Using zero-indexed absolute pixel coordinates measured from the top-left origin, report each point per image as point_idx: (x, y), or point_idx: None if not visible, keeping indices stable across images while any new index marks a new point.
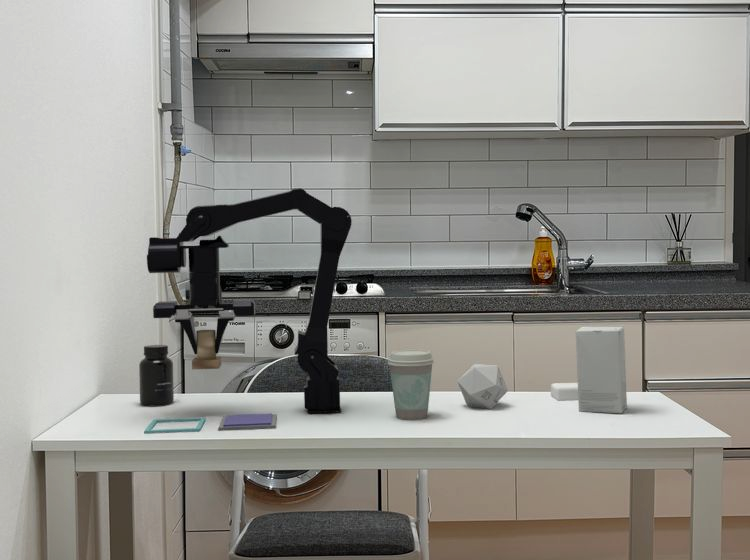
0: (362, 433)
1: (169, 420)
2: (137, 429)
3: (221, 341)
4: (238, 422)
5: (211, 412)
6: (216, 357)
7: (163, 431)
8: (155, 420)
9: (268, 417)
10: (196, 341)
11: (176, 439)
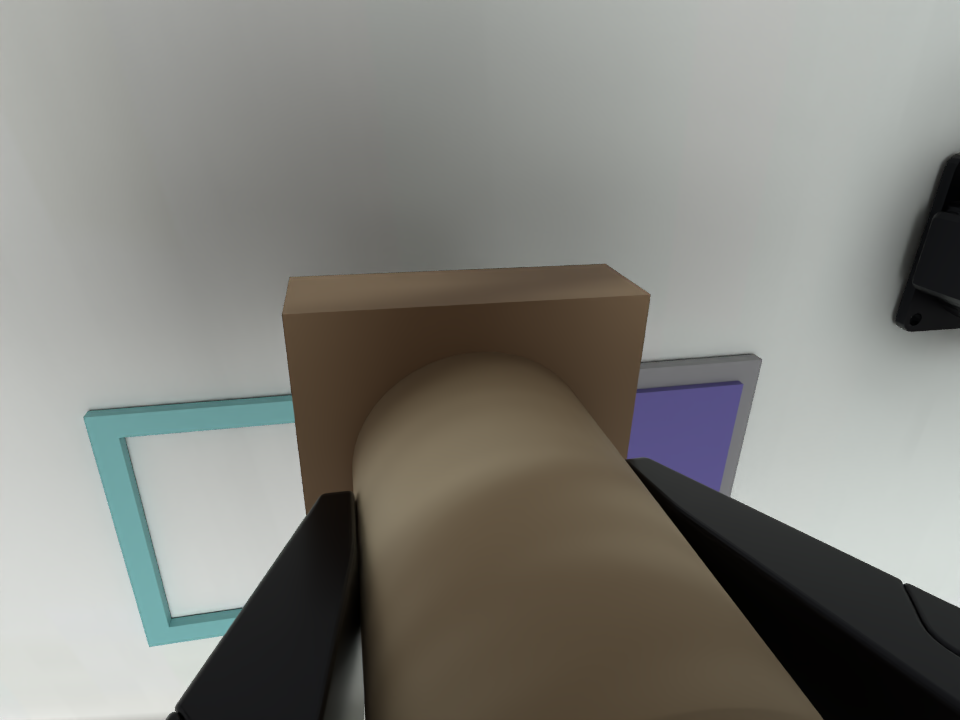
0: None
1: (199, 430)
2: (73, 568)
3: (790, 530)
4: None
5: (411, 180)
6: (591, 368)
7: None
8: (110, 441)
9: (711, 468)
10: (349, 639)
11: None
